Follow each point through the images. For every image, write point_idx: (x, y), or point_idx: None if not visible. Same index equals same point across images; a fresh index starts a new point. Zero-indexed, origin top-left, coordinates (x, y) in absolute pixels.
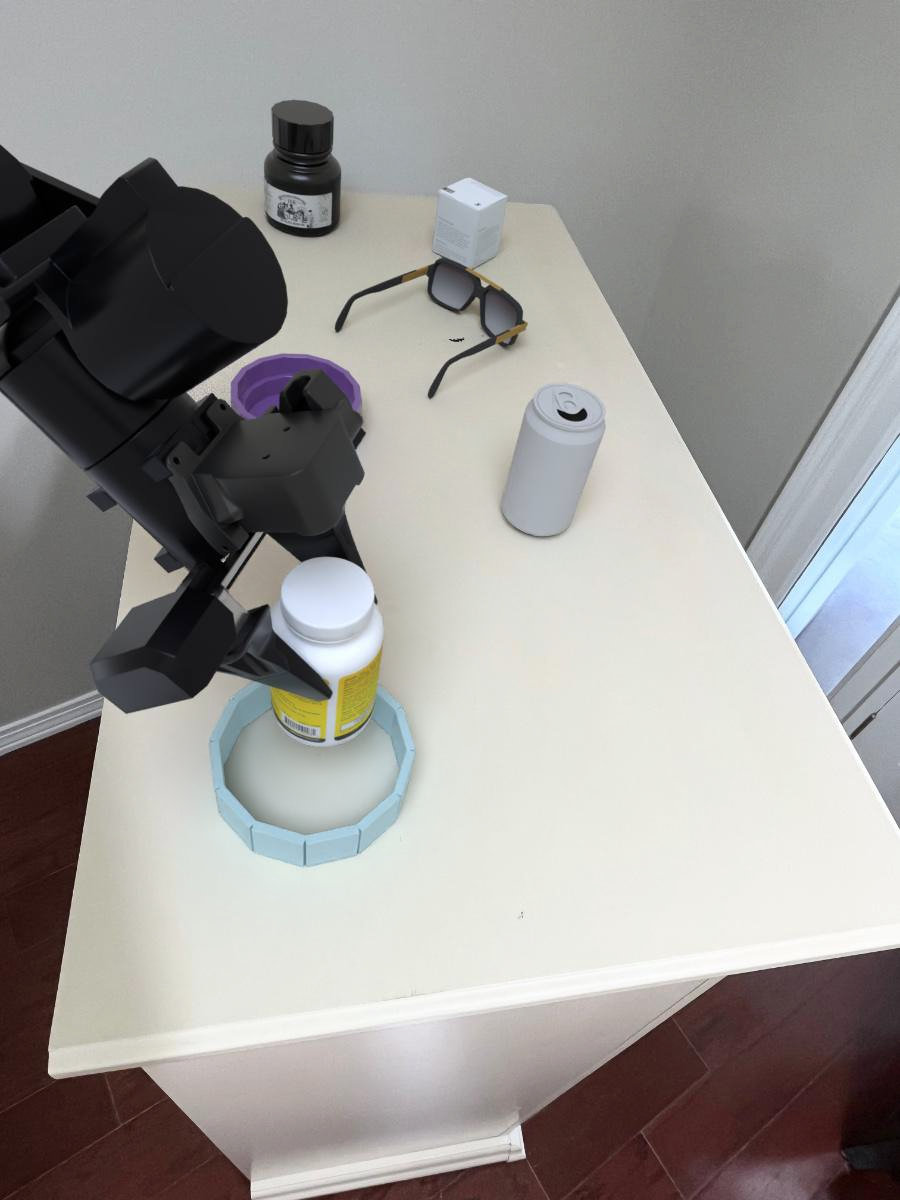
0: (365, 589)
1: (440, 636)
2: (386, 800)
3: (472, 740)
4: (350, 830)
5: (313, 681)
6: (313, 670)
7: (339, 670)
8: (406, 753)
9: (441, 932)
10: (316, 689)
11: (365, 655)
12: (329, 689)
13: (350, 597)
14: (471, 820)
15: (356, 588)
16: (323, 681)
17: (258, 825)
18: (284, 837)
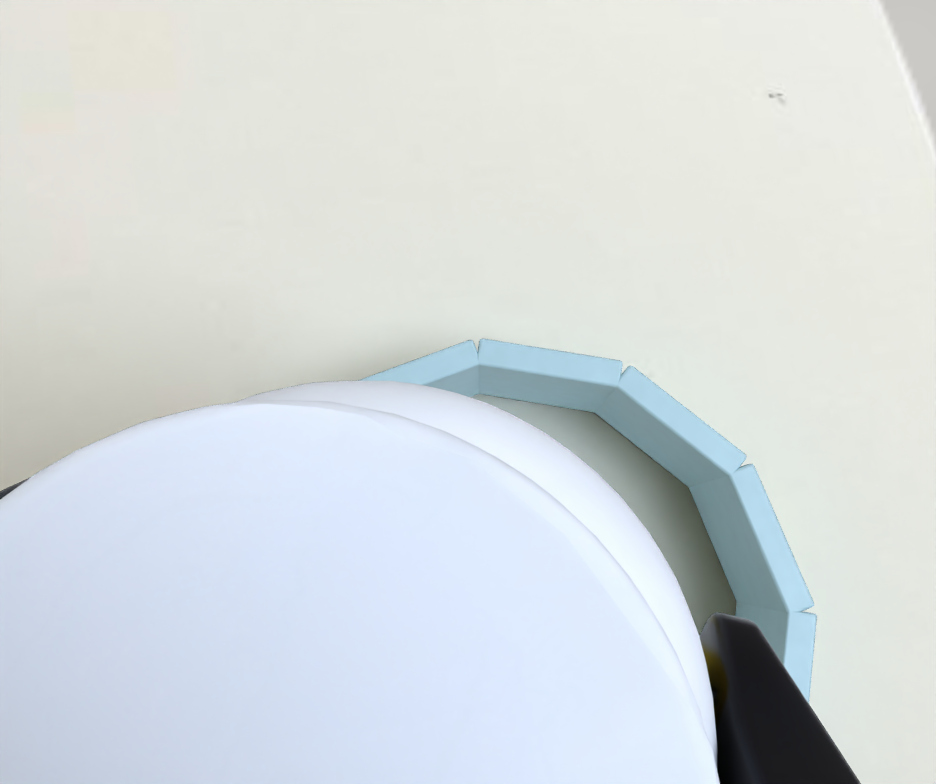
0: (196, 488)
1: (25, 329)
2: (646, 402)
3: (353, 223)
4: (753, 489)
5: (813, 749)
6: (764, 768)
7: (681, 598)
8: (489, 362)
9: (847, 263)
10: (815, 714)
11: (558, 456)
12: (733, 635)
13: (309, 618)
14: (573, 214)
15: (191, 576)
16: (737, 681)
17: None
18: (808, 672)
